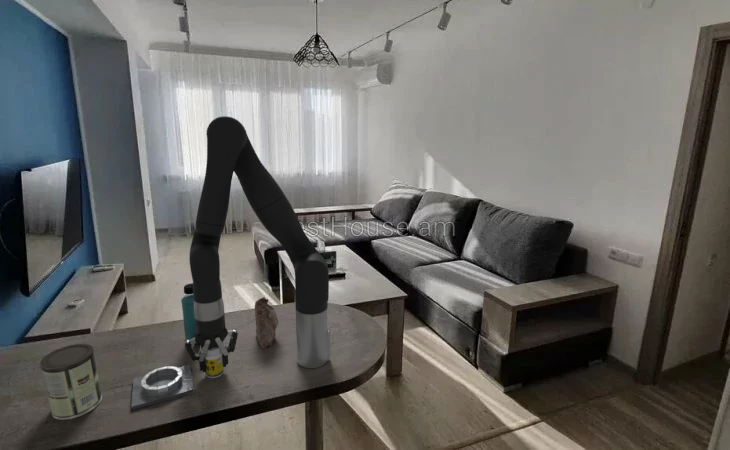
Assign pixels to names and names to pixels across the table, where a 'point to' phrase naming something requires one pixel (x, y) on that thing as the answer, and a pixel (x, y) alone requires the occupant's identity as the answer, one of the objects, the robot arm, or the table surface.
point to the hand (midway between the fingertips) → (214, 367)
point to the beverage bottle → (189, 312)
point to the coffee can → (71, 381)
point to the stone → (265, 322)
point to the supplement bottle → (214, 362)
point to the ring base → (161, 385)
